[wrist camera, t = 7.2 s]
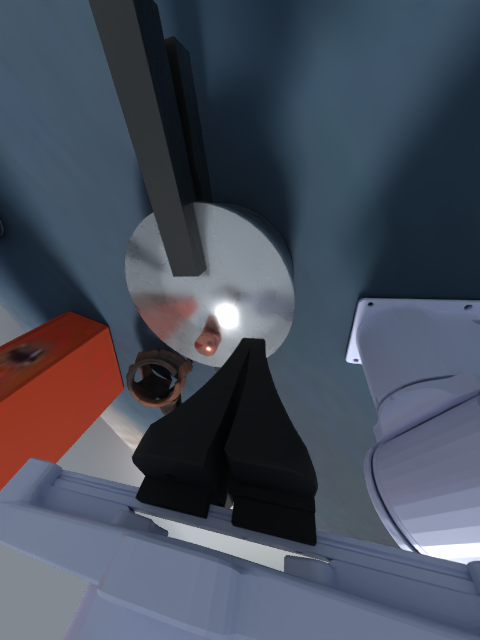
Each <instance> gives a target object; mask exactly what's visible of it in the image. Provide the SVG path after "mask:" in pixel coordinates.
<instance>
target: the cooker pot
mask: <svg viewBox="0 0 480 640" xmlns="http://www.w3.org/2000/svg"><path fill="white" fill-rule="evenodd" d="M164 41H165V46H166V51H167V56H168V61H169V66H170V71H171V76H172V81H173V86H174V91H175V96H176V101H177V106H178V111H179V116H180V121H181V126H182V131H183V136H184V141H185V146H186V151H187V156H188V161H189V166H190V171H191V176H192V181H193V186H194V191H195V196H196V201H201V202H210V203H213V200H212V194H211V188H210V182H209V175H208V169H207V163H206V157H205V150H204V144H203V138H202V131H201V125H200V119H199V113H198V106H197V100H196V94H195V87H194V81H193V75H192V69H191V62H190V56H189V52H188V51H187V50H186V49H185V48H184V47H183V45H182V44H181V43H180V42H179V41H178V40H177V39H176V38H175V37H174V36H172V37H170V38H167V39H165V40H164ZM215 204H219V205H222V206H226V207H228V208H231V209H233V210H235V211H237V212H240V213H241V214H243V215H245V216H246V217H248V218H249V219H251V220H252V221H254V222H255V223H256V224H257V225H258V226H260V227H261V228H262V229H263V230H264V231H265V232H266V233H267V234H268V235H269V236H270V237H271V238H272V239H273V241H274V242H275V243H276V245H277V246H278V248H279V249H280V251H281V252H282V254H283V256H284V258H285V260H286V262H287V264H288V266H289V269H290V272H291V275H292V278H293V279H294V272H293V263H292V258H291V255H290V252H289V249H288V247H287V245H286V243H285V241H284V239H283V238H282V236H281V235H280V233H279V232H278V230H277V229H276V228H275V227H274V226H273V225H272V224H271V223H270V222H269V221H268V220H267V219H266V218H264V217H263V216H262V215H260V214H258V213H257V212H255V211H253V210H251V209H249V208H247V207H244V206H241V205H237V204H231V203H215ZM214 367H215V366H214ZM220 368H221V367H215V371H218V370H219V369H220Z"/></svg>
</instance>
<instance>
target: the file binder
mask: <svg viewBox="0 0 480 640" xmlns="http://www.w3.org/2000/svg"><path fill="white" fill-rule="evenodd" d="M123 390H124V387H123V383H122V379H121V375H120V371H119V367H118V363H117V359H116V355H115V352H114V348H113V344H112V340H111V336H110V332H109V328H108V327H107V325H104V324H102V323H99V322H97V321H94V320H91V319H89V318H86V317H83V316H81V315H78V314H76V313H73V312H70V311H69V312H66V313H64V314H62V315H60V316H58V317H56V318H54V319H52V320H50V321H48V322H46V323H44V324H42V325H41V326H39V327H37V328H35V329H33V330H31V331H29V332H27V333H25V334H23V335H21V336H19V337H17V338H16V339H14V340H12V341H10V342H8V343H6V344H4V345H2V346H0V491H1V490H2V489H3V487H4V486H5V485H6V484H7V483H8V482H9V481H10V480H11V479H12V478H13V477H14V475H15V474H16V473H17V472H18V471H19V470H20V469H21V468H22V467H23V466H24V464H25V463H26V462H27V461H28V460H29V459H30V458H37V459H41V460H46V461H50V462H53V463H55V464H56V462H58V461H59V459H60V458H61V457H62V456H63V455H64V454H65V453H66V452H67V451H68V450H69V448H70V447H71V446H72V445H73V444H74V443H75V442H76V441H77V440H78V439H79V437H81V435H82V434H83V433H84V432H85V431H86V430H87V429H88V428H89V427H90V426H91V425H92V423H93V422H94V421H95V420H96V419H97V418H98V417H99V416H100V415H101V414H102V413H103V411H104V410H105V409H106V408H107V407H108V406H109V405H110V404H111V403H112V402H113V401H114V399H115V398H116V397H117V396H118V395H119V394H120V393H121V392H122V391H123Z"/></svg>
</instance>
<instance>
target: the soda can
mask: <svg viewBox="0 0 480 640" xmlns="http://www.w3.org/2000/svg"><path fill="white" fill-rule="evenodd" d="M3 232H4V229H3V224H2V222H1V219H0V237H1V235H2V234H3Z"/></svg>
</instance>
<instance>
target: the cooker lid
mask: <svg viewBox="0 0 480 640" xmlns="http://www.w3.org/2000/svg"><path fill="white" fill-rule="evenodd" d="M89 3H90V6H91V10H92V13H93V16H94V19H95V23H96V26H97V29H98V32H99V36H100V39H101V42H102V46H103V49H104V52H105V55H106V59H107V62H108V65H109V68H110V72H111V75H112V78H113V82H114V85H115V88H116V91H117V95H118V98H119V101H120V104H121V108H122V111H123V114H124V117H125V121H126V124H127V127H128V131H129V134H130V137H131V140H132V144H133V147H134V150H135V153H136V157H137V160H138V163H139V167H140V170H141V173H142V176H143V180H144V183H145V186H146V189H147V193H148V196H149V199H150V202H151V206H152V209H153V213H152V214H150V215H149V216H147V217H146V218H145V219H144V220H143V221H142V222H141V223H140V224H139V225H138V227H137V228H136V230H135V231H134V232H133V234H132V236H131V239H130V241H129V243H128V247H127V251H126V258H125V274H126V281H127V285H128V289H129V293H130V295H131V298H132V300H133V303H134V305H135V307H136V309H137V311H138V312H139V314H140V315H141V317H142V319H143V320H144V321H145V323H146V324H147V325H148V327H149V328H150V329H151V330H152V331H153V332H154V333H155V334H156V335H157V336H158V337H159V338H160V339H161V340H162V341H163V342H164V343H166V344H167V345H168V346H169V347H171V348H172V349H174V350H175V351H177V352H178V353H180V354H182V355H183V356H185V357H187V358H189V359H192V360H194V361H197V362H199V363H202V364H206V365H209V366H215V367H222V366H223V364H224V363H225V362H226V361H227V359H228V358H229V357H230V356H231V354H232V353H233V352H234V350H235V349H236V347H237V346H238V344H239V343H240V341H241V339H242V338H259V339H264V340H266V358H267V357H269V356H270V355H271V354H273V353H274V352H275V351H276V350H277V349H278V348H279V347H280V346H281V344H282V343H283V341H284V340H285V339H286V337H287V335H288V333H289V330H290V328H291V325H292V321H293V316H294V307H295V288H294V283H293V278H292V275H291V272H290V269H289V266H288V264H287V262H286V260H285V258H284V256H283V254H282V252H281V251H280V249H279V248H278V246H277V245H276V243H275V242H274V241H273V239H272V238H271V237H270V236H269V235H268V234H267V233H266V232H265V231H264V230H263V229H262V228H261V227H260V226H258V225H257V224H256V223H255V222H254V221H252V220H251V219H249V218H248V217H246V216H245V215H243V214H241V213H240V212H237V211H235V210H233V209H231V208H228V207H226V206H222V205H219V204H215V203H210V202H201V201H196V196H195V191H194V186H193V181H192V176H191V171H190V166H189V161H188V156H187V151H186V146H185V141H184V136H183V131H182V126H181V121H180V116H179V111H178V106H177V101H176V96H175V91H174V86H173V81H172V76H171V71H170V66H169V61H168V56H167V51H166V46H165V41H164V36H163V31H162V26H161V21H160V16H159V11H158V6H157V4H156V3H155V2H154V1H153V0H89Z"/></svg>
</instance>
